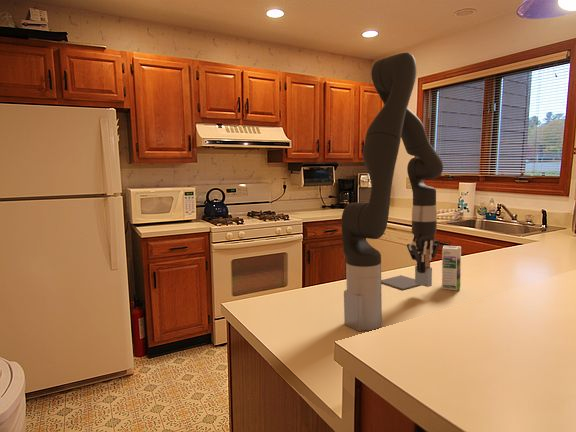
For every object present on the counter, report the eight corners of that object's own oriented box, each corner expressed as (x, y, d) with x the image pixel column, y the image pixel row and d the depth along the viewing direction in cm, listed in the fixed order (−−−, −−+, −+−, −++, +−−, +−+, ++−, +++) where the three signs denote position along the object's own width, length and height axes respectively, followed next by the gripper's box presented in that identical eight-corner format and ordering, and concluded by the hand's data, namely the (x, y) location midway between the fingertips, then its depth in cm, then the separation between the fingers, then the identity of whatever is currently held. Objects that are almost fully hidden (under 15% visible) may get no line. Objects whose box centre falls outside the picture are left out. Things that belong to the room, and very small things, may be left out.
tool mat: (402, 290, 129) (402, 288, 129) (378, 282, 139) (378, 280, 139) (426, 283, 135) (426, 282, 135) (401, 276, 145) (401, 275, 145)
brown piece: (427, 287, 119) (428, 250, 118) (415, 283, 124) (415, 247, 122) (431, 286, 120) (432, 249, 119) (419, 282, 125) (419, 247, 123)
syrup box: (441, 289, 128) (441, 247, 127) (443, 284, 134) (443, 244, 132) (459, 291, 126) (460, 248, 124) (460, 286, 131) (461, 245, 129)
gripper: (418, 222, 113) (418, 278, 115) (448, 218, 120) (447, 271, 122) (399, 220, 120) (399, 273, 121) (428, 216, 126) (428, 266, 128)
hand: (423, 271), depth 122 cm, fingers closed on brown piece, 2 cm apart
